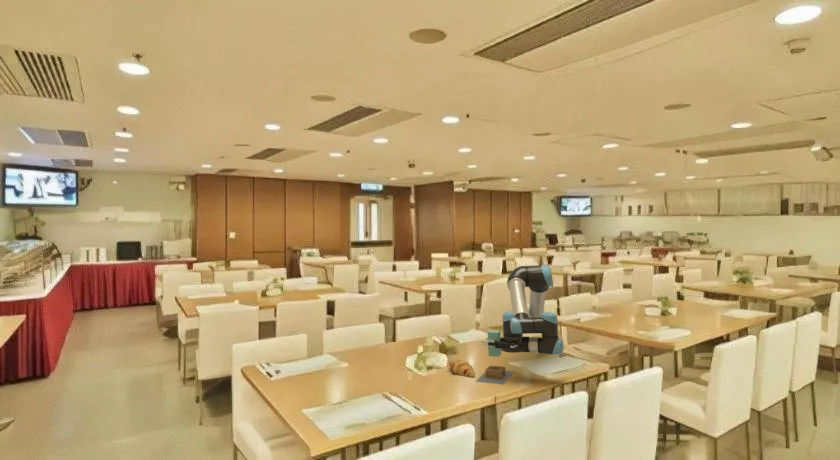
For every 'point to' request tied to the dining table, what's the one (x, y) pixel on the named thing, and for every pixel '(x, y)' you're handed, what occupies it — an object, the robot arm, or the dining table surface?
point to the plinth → (495, 372)
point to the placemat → (495, 381)
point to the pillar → (496, 336)
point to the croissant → (462, 368)
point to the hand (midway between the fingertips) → (484, 341)
